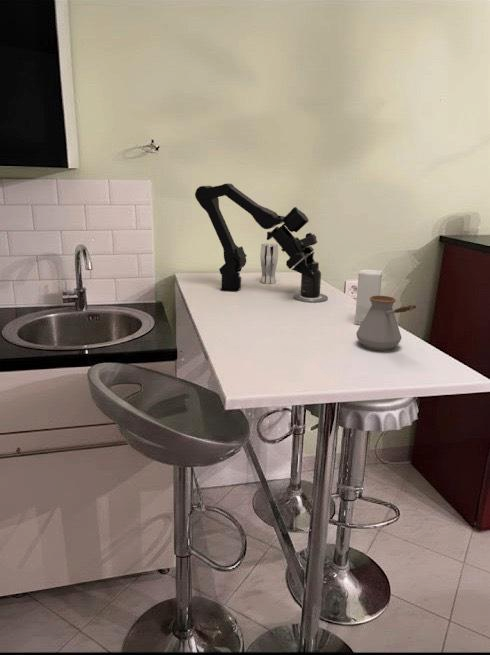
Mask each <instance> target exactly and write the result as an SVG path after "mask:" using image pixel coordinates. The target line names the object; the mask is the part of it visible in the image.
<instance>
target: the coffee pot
mask: <svg viewBox="0 0 490 655" xmlns="http://www.w3.org/2000/svg"><path fill="white" fill-rule="evenodd" d="M370 301H371V304H372V306H371V308H370V309H369V311H368V313H367V315H366V317H365V318H364V320H363V322H362V324H361V325H359V327H358V329H357V331H356V333H355V334H356V338H357V340H358V342H360V343H361V345H362V346H363V347H365V348H366V349H370V350H373V351H379V352H380V351H381V352H382V351H383V352H385V351H390V350H392V349H393V348H395V347H396V346H398V345H399V343H400V342H401V340H402V335H401V332H400V329H399V325H398V322H397V319H396V316H395V314H398V313H405V312H408V311H410V314H412V315H414V313H413V312H412V311H413V310H414V309H416V308H417V309H418V311H417V313H416V315H418V314H419V313H420V308H419V307H418V306H416V305H414V304H413V305H410V304H409V305H407V306H402V307H398V308H396V309H393V305H394V303H396V298H394V297H392V296H388V295H380V296H371V297H370Z"/></svg>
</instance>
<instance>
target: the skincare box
mask: <svg viewBox="0 0 490 655" xmlns="http://www.w3.org/2000/svg"><path fill="white" fill-rule="evenodd" d="M357 277H358V278H357V279H358V280H357V288H356V289H357V292H356V304H355V306H356V307H355V316H354V317H355V318H354V325H358V326H360V325H361V324H362V322H363V320H364V318H365V317H366V315H367V313H368V311H369V309H370V308H371V306H372V304H371V301H370V297H371V296H381V290H382V278H383V270H381V269H365V268H363V269H361V270H359V273H358V276H357Z"/></svg>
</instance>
